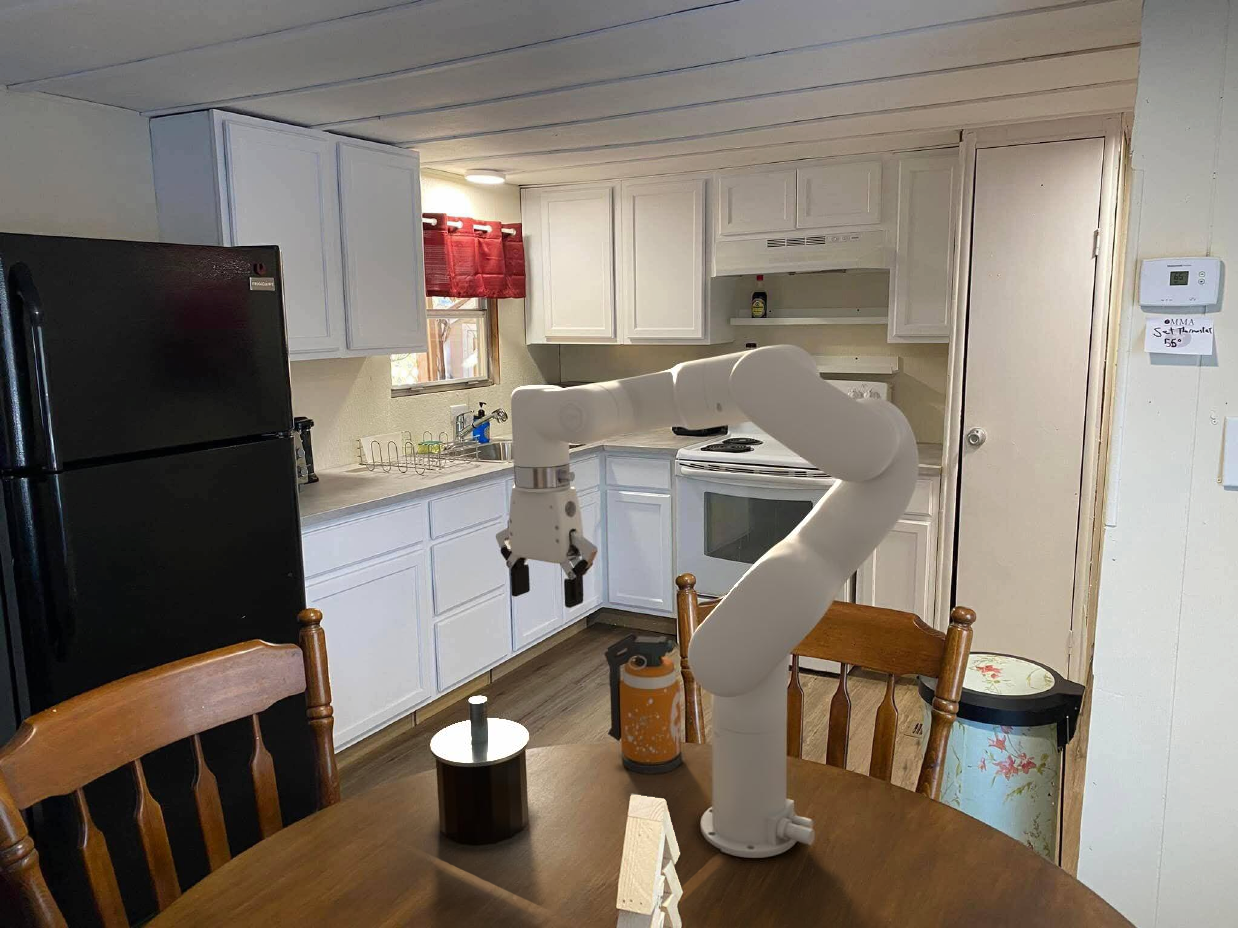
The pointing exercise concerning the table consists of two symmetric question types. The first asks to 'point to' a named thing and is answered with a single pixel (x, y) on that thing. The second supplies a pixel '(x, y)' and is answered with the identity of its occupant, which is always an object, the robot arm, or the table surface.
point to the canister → (645, 703)
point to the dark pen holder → (483, 801)
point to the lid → (479, 739)
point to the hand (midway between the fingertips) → (546, 599)
